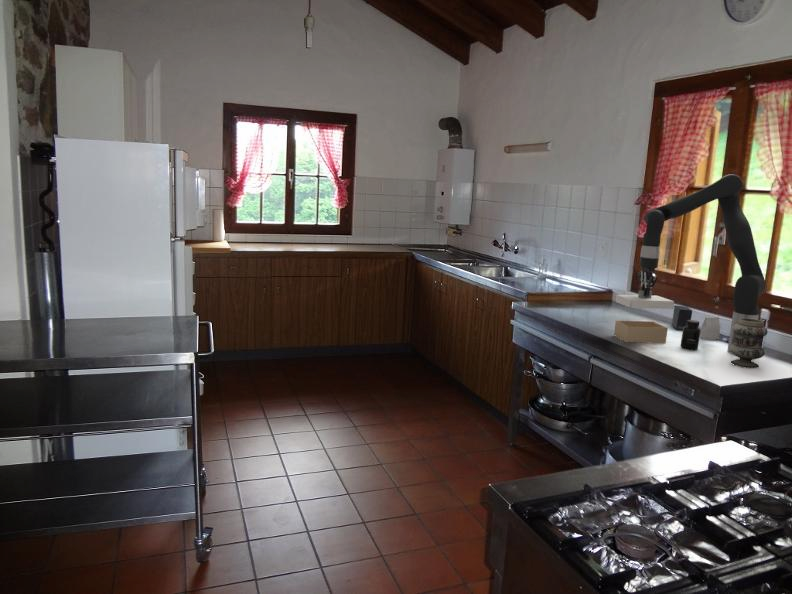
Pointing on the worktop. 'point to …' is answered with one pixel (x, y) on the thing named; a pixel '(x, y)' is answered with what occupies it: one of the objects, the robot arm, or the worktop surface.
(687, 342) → the supplement bottle
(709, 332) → the printed product carton
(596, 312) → the worktop surface
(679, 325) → the small box
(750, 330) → the apothecary jar
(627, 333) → the box
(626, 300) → the mailer lid
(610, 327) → the worktop surface
